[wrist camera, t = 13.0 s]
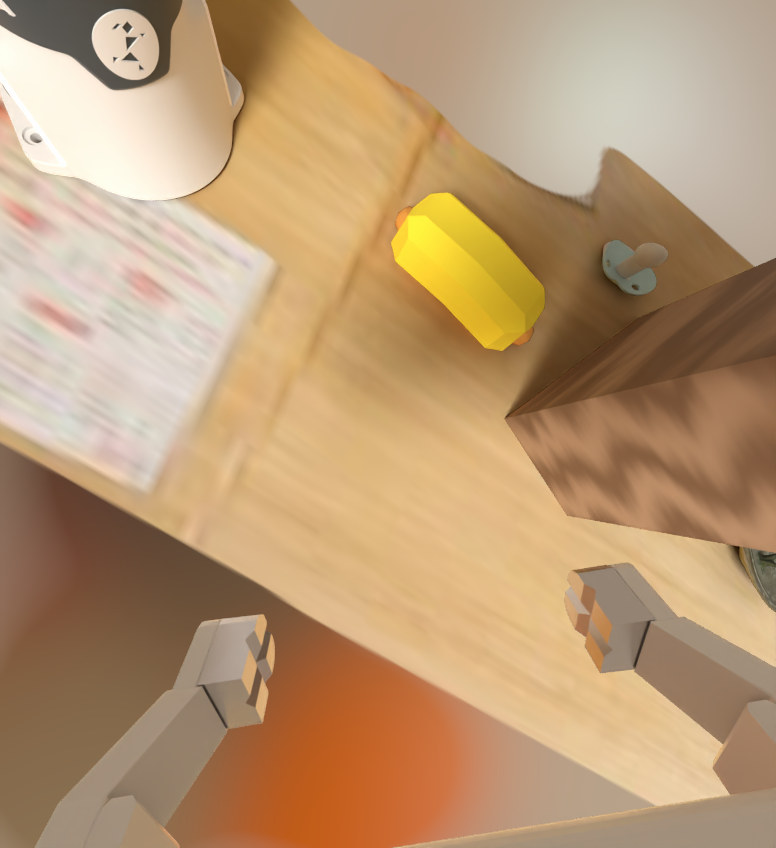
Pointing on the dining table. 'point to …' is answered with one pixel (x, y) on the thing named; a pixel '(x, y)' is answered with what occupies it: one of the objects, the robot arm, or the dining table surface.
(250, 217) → the dining table surface
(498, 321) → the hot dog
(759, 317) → the walnut stand
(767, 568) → the lid
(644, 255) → the pacifier
